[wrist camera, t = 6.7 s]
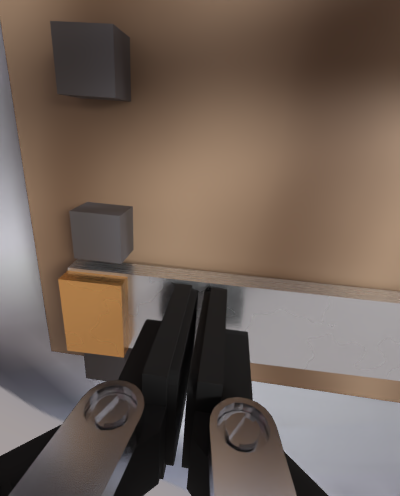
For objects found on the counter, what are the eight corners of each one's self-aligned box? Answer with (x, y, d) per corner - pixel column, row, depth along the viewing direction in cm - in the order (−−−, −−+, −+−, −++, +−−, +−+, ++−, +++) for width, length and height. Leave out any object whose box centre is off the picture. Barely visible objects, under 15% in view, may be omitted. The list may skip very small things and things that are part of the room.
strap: (564, 309, 9) (617, 337, 8) (519, 379, 11) (558, 414, 9) (79, 257, 10) (58, 276, 9) (85, 327, 12) (67, 352, 10)
